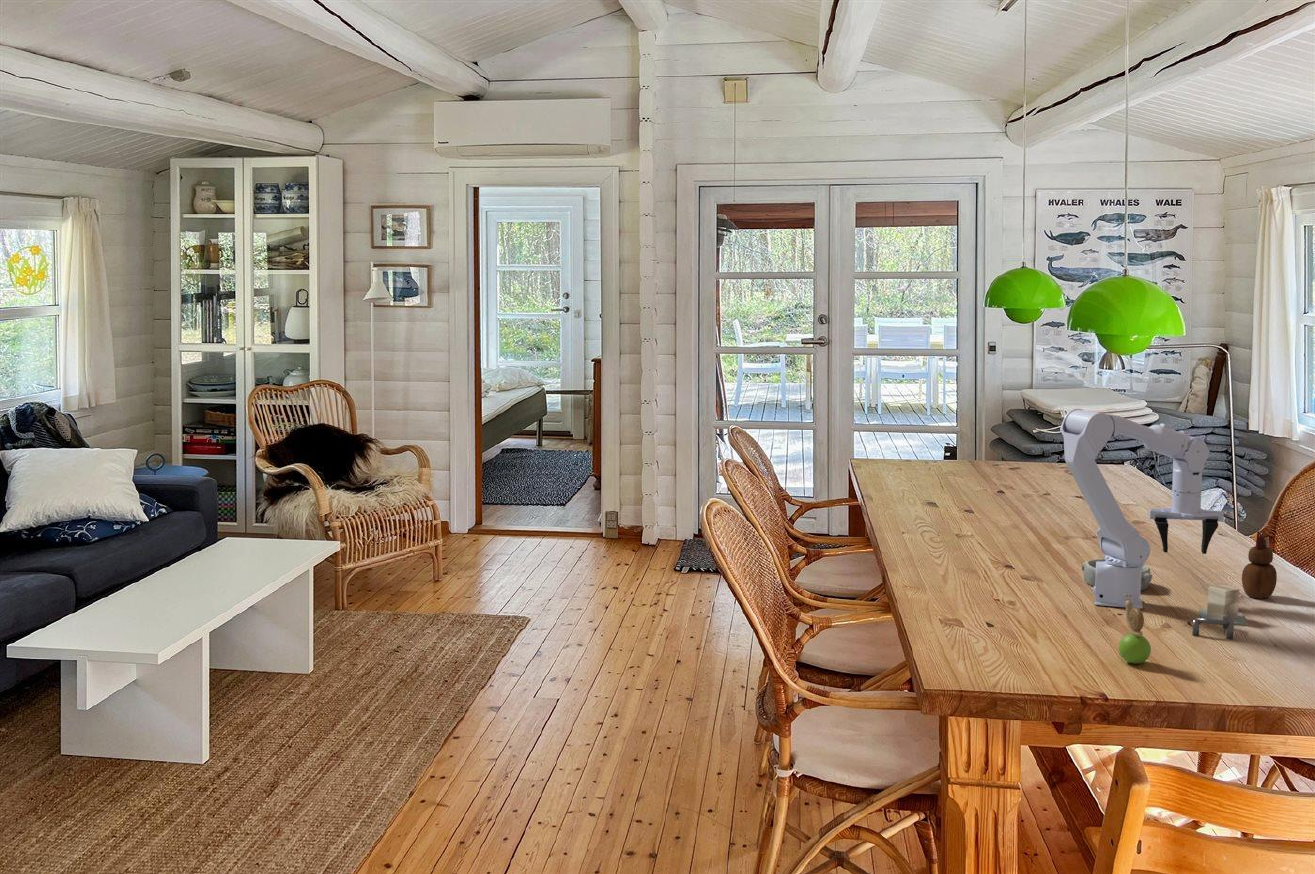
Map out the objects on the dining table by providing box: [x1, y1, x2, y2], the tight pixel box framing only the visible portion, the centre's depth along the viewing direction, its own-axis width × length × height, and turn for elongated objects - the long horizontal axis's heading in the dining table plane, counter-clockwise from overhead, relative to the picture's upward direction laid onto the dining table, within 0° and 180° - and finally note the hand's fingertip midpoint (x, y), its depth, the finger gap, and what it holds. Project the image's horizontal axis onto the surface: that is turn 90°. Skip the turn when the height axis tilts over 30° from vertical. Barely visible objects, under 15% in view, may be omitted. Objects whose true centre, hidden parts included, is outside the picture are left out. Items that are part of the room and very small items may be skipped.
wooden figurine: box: [1241, 530, 1278, 600], centre depth 242 cm, size 7×6×15 cm
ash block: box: [1206, 584, 1240, 620], centre depth 228 cm, size 4×4×6 cm
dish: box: [1081, 558, 1153, 591], centre depth 255 cm, size 14×14×5 cm
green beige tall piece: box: [1118, 594, 1152, 665], centre depth 202 cm, size 5×6×12 cm
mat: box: [1198, 608, 1247, 627], centre depth 228 cm, size 8×8×1 cm
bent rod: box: [1191, 611, 1235, 640], centre depth 219 cm, size 7×8×4 cm
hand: (1184, 552), depth 241 cm, fingers open, 7 cm apart
